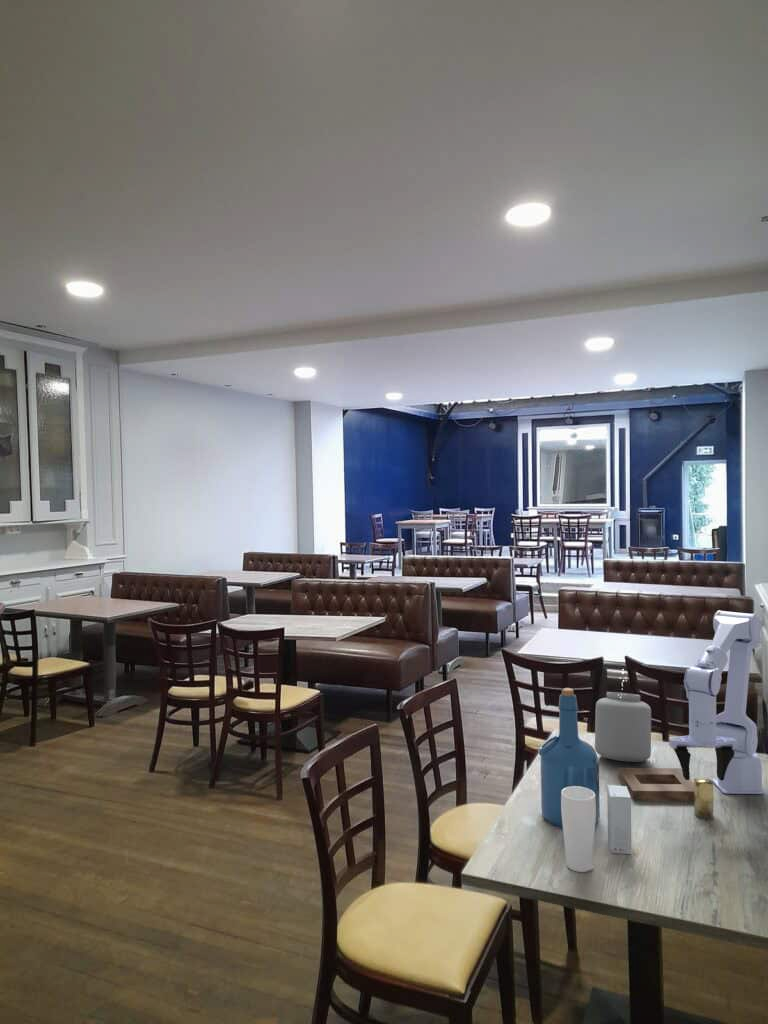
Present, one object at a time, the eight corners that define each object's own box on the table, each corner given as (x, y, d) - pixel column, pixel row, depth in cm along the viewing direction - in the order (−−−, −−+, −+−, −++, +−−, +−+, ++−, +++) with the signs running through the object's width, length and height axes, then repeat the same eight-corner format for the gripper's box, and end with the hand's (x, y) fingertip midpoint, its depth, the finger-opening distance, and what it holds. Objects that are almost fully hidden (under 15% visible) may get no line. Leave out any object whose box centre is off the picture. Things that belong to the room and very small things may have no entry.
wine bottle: (603, 810, 162) (601, 684, 162) (595, 836, 150) (593, 700, 150) (545, 801, 168) (543, 679, 168) (533, 825, 156) (530, 693, 156)
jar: (602, 743, 205) (601, 660, 205) (655, 751, 199) (654, 664, 198) (590, 766, 189) (588, 676, 188) (647, 775, 182) (646, 681, 181)
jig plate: (680, 777, 180) (680, 768, 180) (701, 801, 166) (701, 791, 166) (617, 777, 181) (617, 767, 181) (633, 800, 167) (633, 790, 167)
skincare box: (632, 855, 142) (631, 797, 142) (610, 853, 143) (609, 796, 143) (628, 840, 148) (627, 785, 148) (607, 839, 149) (606, 784, 149)
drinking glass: (557, 858, 142) (556, 786, 141) (589, 856, 142) (588, 784, 142) (569, 876, 135) (567, 801, 135) (602, 874, 135) (601, 799, 135)
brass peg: (709, 811, 161) (708, 777, 161) (716, 819, 157) (715, 784, 157) (691, 811, 161) (691, 777, 161) (698, 819, 157) (697, 784, 157)
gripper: (676, 725, 155) (677, 785, 155) (742, 725, 154) (743, 786, 154) (665, 715, 162) (666, 772, 162) (729, 715, 161) (730, 773, 161)
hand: (703, 778), depth 159 cm, fingers open, 7 cm apart
